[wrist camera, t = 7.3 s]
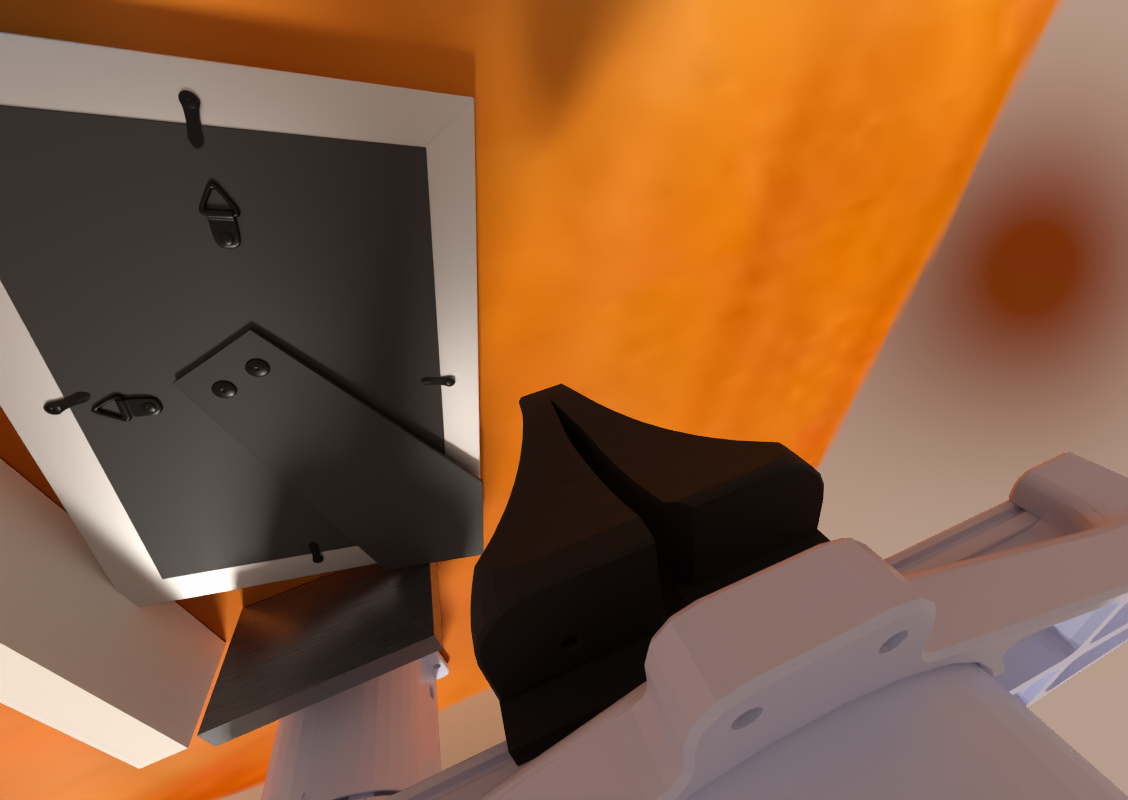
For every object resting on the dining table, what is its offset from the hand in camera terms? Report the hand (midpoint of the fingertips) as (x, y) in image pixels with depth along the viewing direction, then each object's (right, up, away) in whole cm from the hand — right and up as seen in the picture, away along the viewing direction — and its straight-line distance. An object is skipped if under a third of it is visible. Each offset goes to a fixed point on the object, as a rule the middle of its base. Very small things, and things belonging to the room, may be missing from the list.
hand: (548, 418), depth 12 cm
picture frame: (-12, +2, +6) cm, 13 cm away
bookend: (-12, -9, +11) cm, 19 cm away
